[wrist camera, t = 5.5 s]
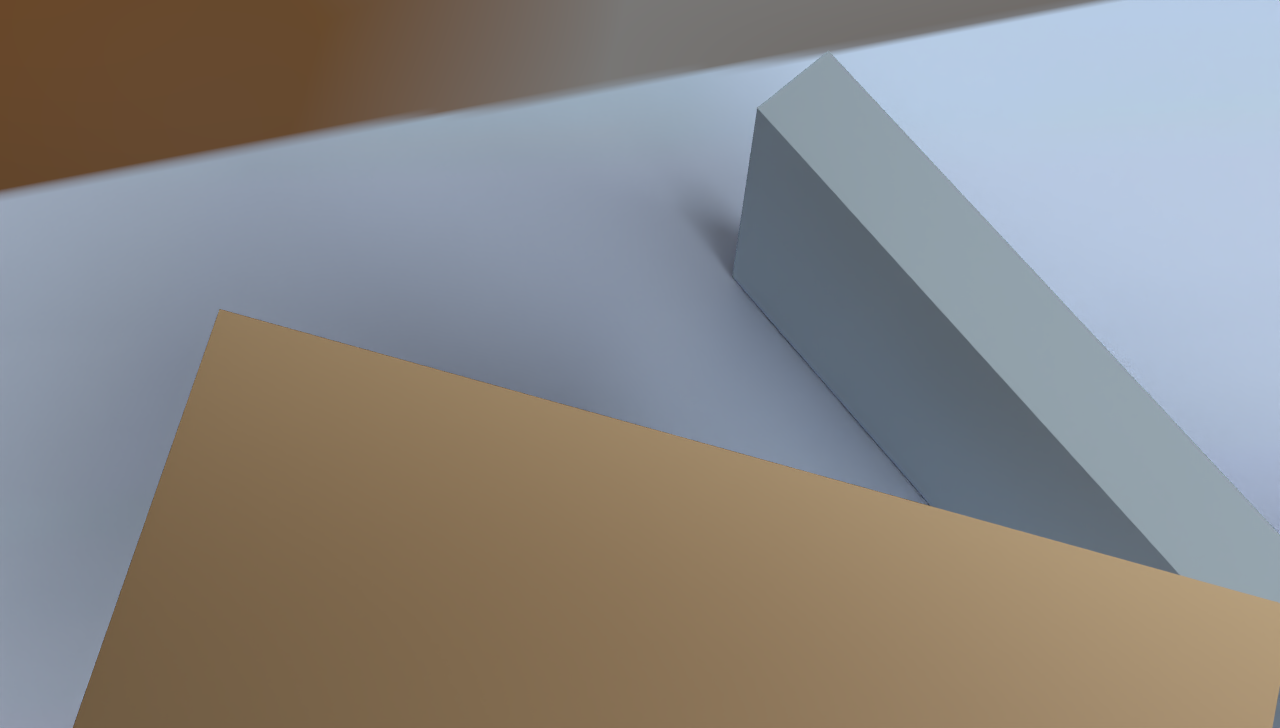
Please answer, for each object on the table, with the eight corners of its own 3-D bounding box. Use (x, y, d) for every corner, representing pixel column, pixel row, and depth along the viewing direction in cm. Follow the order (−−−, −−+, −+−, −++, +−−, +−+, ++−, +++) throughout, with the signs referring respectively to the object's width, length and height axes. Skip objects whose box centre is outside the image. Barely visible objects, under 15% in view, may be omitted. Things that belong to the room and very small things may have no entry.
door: (1152, 761, 19) (1539, 972, 10) (732, 276, 21) (757, 107, 12) (1196, 722, 19) (1619, 898, 11) (774, 242, 21) (828, 50, 13)
